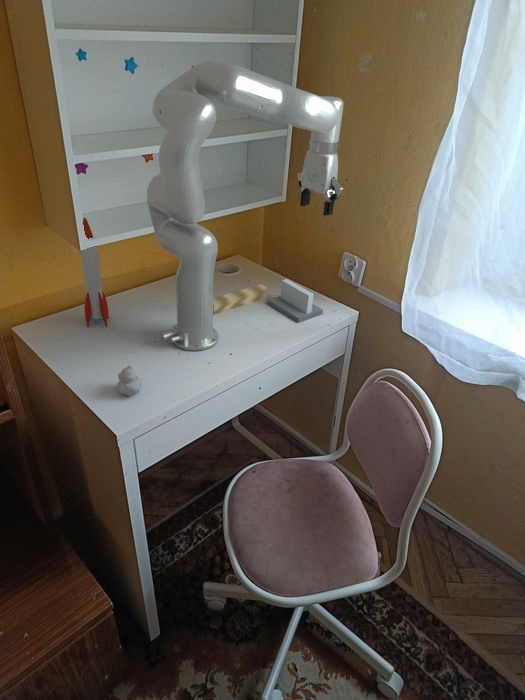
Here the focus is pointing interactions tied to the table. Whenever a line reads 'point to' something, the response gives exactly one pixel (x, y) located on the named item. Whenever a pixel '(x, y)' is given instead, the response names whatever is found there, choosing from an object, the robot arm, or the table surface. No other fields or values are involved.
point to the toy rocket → (93, 283)
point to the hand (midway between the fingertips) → (315, 210)
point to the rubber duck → (128, 381)
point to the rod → (239, 298)
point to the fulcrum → (295, 302)
